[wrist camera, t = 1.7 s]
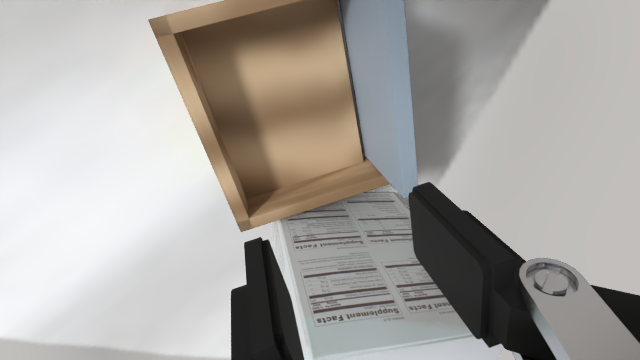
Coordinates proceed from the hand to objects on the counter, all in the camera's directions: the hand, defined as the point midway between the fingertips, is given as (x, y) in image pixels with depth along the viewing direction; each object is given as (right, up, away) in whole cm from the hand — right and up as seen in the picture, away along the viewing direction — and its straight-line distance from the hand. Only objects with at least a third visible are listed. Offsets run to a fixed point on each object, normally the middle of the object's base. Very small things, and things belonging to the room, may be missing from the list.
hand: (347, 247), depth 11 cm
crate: (-4, +9, +17) cm, 19 cm away
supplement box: (0, -5, +25) cm, 26 cm away
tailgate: (+2, +10, +16) cm, 19 cm away
